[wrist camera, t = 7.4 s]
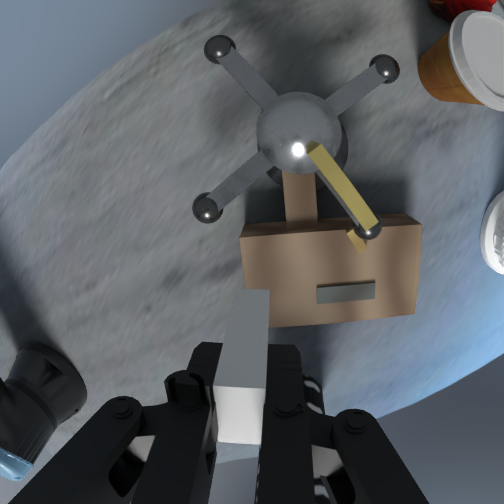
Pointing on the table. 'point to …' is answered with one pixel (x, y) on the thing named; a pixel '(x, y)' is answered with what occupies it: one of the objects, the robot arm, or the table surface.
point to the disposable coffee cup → (467, 61)
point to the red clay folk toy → (459, 7)
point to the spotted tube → (316, 403)
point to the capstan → (297, 136)
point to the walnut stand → (330, 263)
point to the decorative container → (493, 234)
